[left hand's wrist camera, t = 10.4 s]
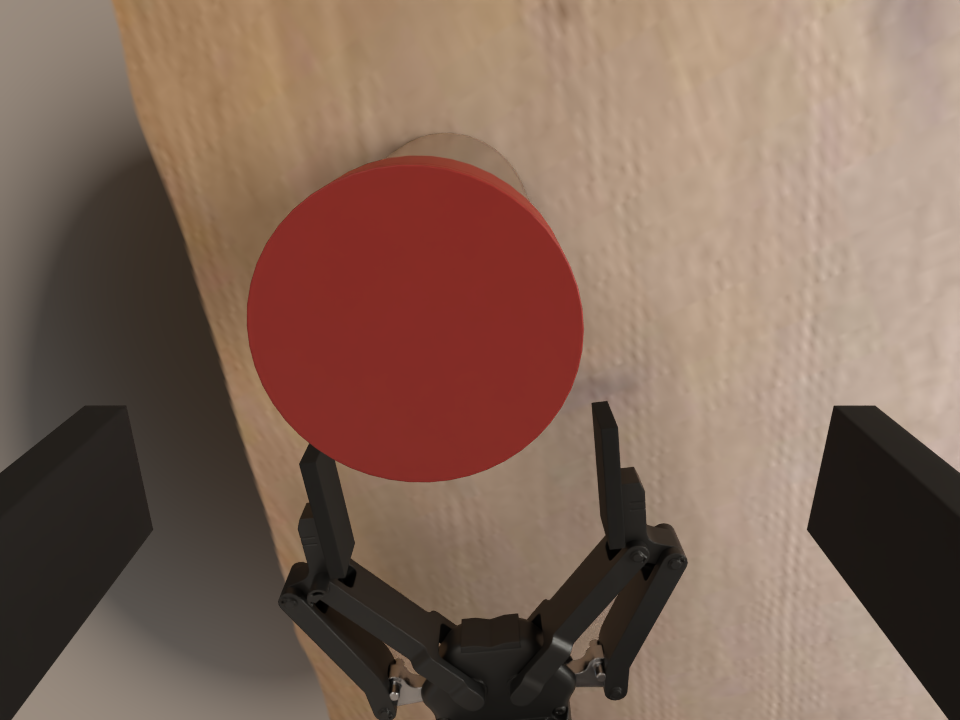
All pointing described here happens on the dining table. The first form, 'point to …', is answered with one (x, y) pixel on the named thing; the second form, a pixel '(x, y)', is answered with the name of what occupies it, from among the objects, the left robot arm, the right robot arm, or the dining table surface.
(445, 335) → the lid
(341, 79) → the dining table surface
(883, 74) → the dining table surface
